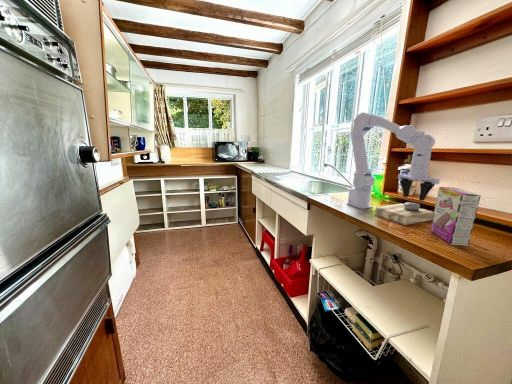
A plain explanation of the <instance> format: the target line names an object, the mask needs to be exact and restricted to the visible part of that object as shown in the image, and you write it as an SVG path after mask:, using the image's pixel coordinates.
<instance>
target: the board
mask: <svg viewBox="0 0 512 384" xmlns="http://www.w3.org/2000/svg"><path fill="white" fill-rule="evenodd" d="M404 204H405V203H396V204H395V203H394V204H389V205H381V206H375V213H374V215H375V216H377V217H379V218H383V219H386V220H388V221H393V222H395V223H397V224H401V225H404V226H408V225H412V224H418V223H423V222H427V221H432V220H433V215H434V211H432V210H428V209H425V208H419V211H418V212H413V211H407V210H405V209H404Z"/></svg>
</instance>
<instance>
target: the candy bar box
mask: <svg viewBox="0 0 512 384" xmlns="http://www.w3.org/2000/svg"><path fill="white" fill-rule="evenodd" d="M481 197H482V195H481V194H479V193H474V192H473V191H472V192H471V191H468V190H464V189H462V188H458V187H454V186H452V187H451V186H439V187H438V190H437V197H436V200H435V201H436V202H435V206H434V211H433V217H432V220H431V221H432V222H431V226H430V230H429V232H431V233H433V234H434V235H435V236H437V237H438V238H440V239H442V240H443V241H445V242H446V243H447V244H449V245H450V246H455V247H456V246H457V247H469V244H470V240H471V235H472V231H473V229H474V228H473V227H474V225H475V220H476V216H477V211H478V209H479V204H480V201H481Z"/></svg>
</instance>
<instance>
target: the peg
mask: <svg viewBox="0 0 512 384" xmlns="http://www.w3.org/2000/svg"><path fill="white" fill-rule="evenodd" d="M403 204H404V209H405V210H407V211H413V212H418V211H419V208H420V207H421V204H419V203H416V202H410V201H406V202H404V203H403Z"/></svg>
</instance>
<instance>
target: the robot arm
mask: <svg viewBox="0 0 512 384" xmlns="http://www.w3.org/2000/svg"><path fill="white" fill-rule="evenodd" d="M375 127H381V128H384V129H385V130H387V131H390V132H391V133H393V134H395V137H396V138H397V139H398V140H401V141H402V142H404V143H405V144H408V145H410V146H412V147H413V153H412V157H411V164H410V168H409V174H403V173H401V174H400V173H398V175H397V179H398V180H399V184H400V186H401V188H402V192H403V198H408V197H409V195H410V190H411V187H412V185H413V182H420V183H419V186H420V187H419V188H420V193H419V198H418V200H419V201H420V202H421V201H423V202H424V201H425V199H426V198H427V195H428V194H429V193H430V192H431V190H432V189H433V188H434V187H435V185H439V184H440V180H441V179H440V178H434V177H429V176H428V172H429V168H430V161H431V157H432V149H433V147H434V146H435V144H436V139H435V137H434V136H432V135H430V134H425V133H426V131H424V130H422V131H420V130H418V129H415V128H414V126H413V125H411V124H409V125H407V124H405V125H401V126H400V125H399V124H397V123H395V122H393V121H391V120H389V119H387V118H385V117H383V116H379V115H376V114H372V113H368V112H365V111H364V112H361V113H359V114H357V116H355V118H354V119H353V126H352V128H351V129H352V130H351V133H350V136H351V145H352V150H353V151H352V152H353V159H354V164H355V166H354V167H355V172H354V173H353V182H352V184H353V186H354V187H350V189H349V191H348V198H347V202H346V204H347V205H349V206H352V207H353V208H354V207H355V208H358V209H360V210H361V209H362V210H365V209H370V208H374V206H373V205H370V200H371V199H370V198H371V194H372V186H374V183H375V177H373V175H372V170H370V168H369V165H368V157H367V152H366V143H365V137H364V136H365V135H366V134H367V133H368V132H369V131H370V130H372V129H373V128H375Z"/></svg>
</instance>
